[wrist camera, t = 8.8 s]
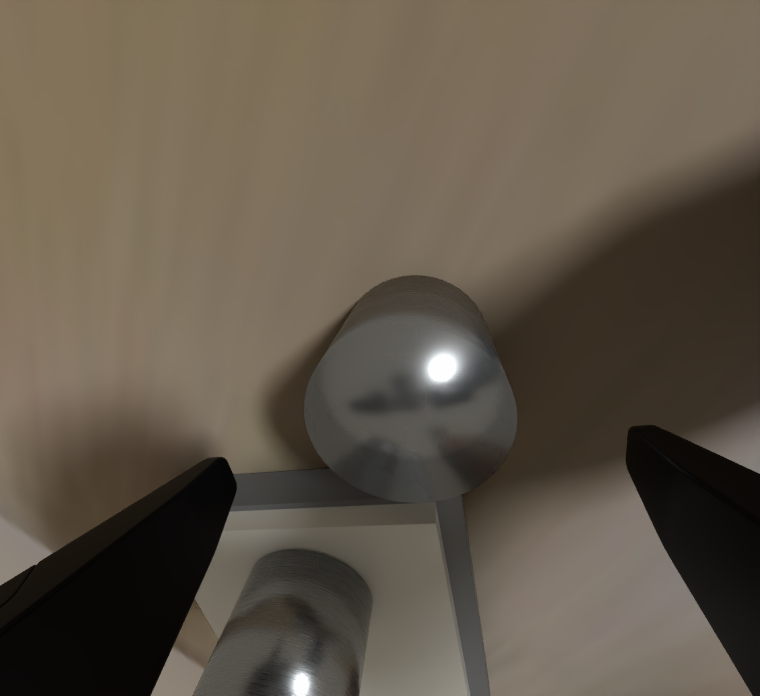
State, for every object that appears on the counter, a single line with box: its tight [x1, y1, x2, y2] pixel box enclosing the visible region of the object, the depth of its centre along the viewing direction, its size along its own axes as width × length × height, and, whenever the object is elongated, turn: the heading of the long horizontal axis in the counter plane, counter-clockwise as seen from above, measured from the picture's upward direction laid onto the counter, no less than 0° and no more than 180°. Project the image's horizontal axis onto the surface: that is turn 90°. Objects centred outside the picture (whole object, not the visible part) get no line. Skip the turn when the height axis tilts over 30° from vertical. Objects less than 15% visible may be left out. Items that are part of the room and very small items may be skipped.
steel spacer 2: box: [304, 275, 517, 503], centre depth 12 cm, size 6×6×5 cm
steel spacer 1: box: [193, 549, 373, 696], centre depth 14 cm, size 6×6×5 cm
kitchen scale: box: [195, 468, 490, 696], centre depth 19 cm, size 14×17×4 cm
